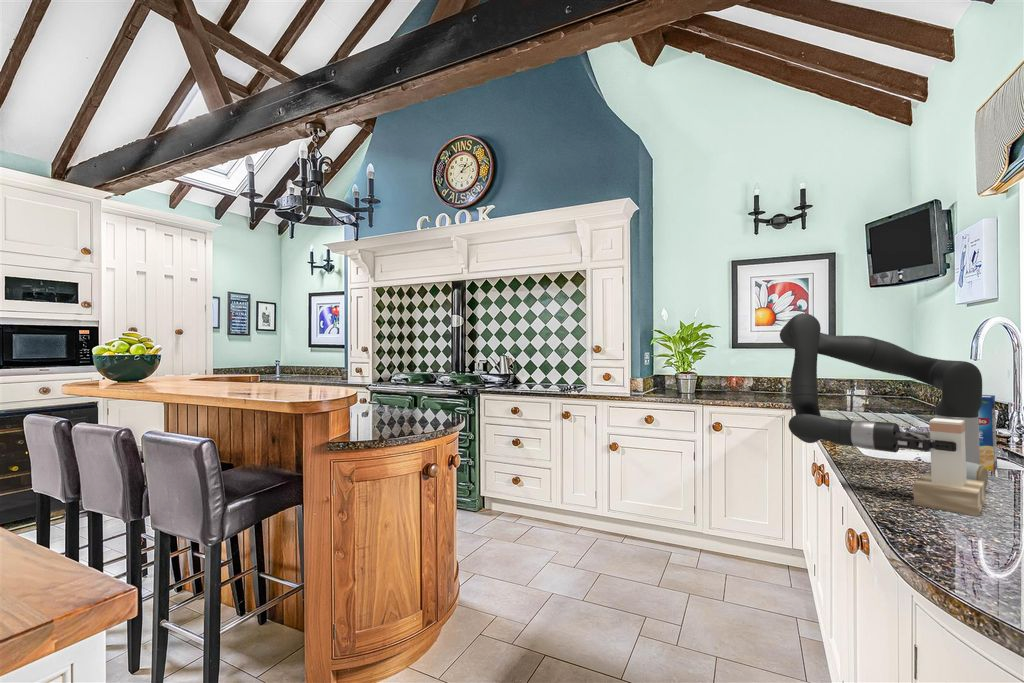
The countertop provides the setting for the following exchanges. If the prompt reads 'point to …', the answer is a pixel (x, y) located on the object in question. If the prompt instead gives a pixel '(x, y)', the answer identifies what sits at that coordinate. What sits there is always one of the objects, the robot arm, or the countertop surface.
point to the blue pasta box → (987, 433)
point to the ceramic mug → (976, 472)
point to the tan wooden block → (950, 495)
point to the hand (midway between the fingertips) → (959, 444)
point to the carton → (948, 452)
